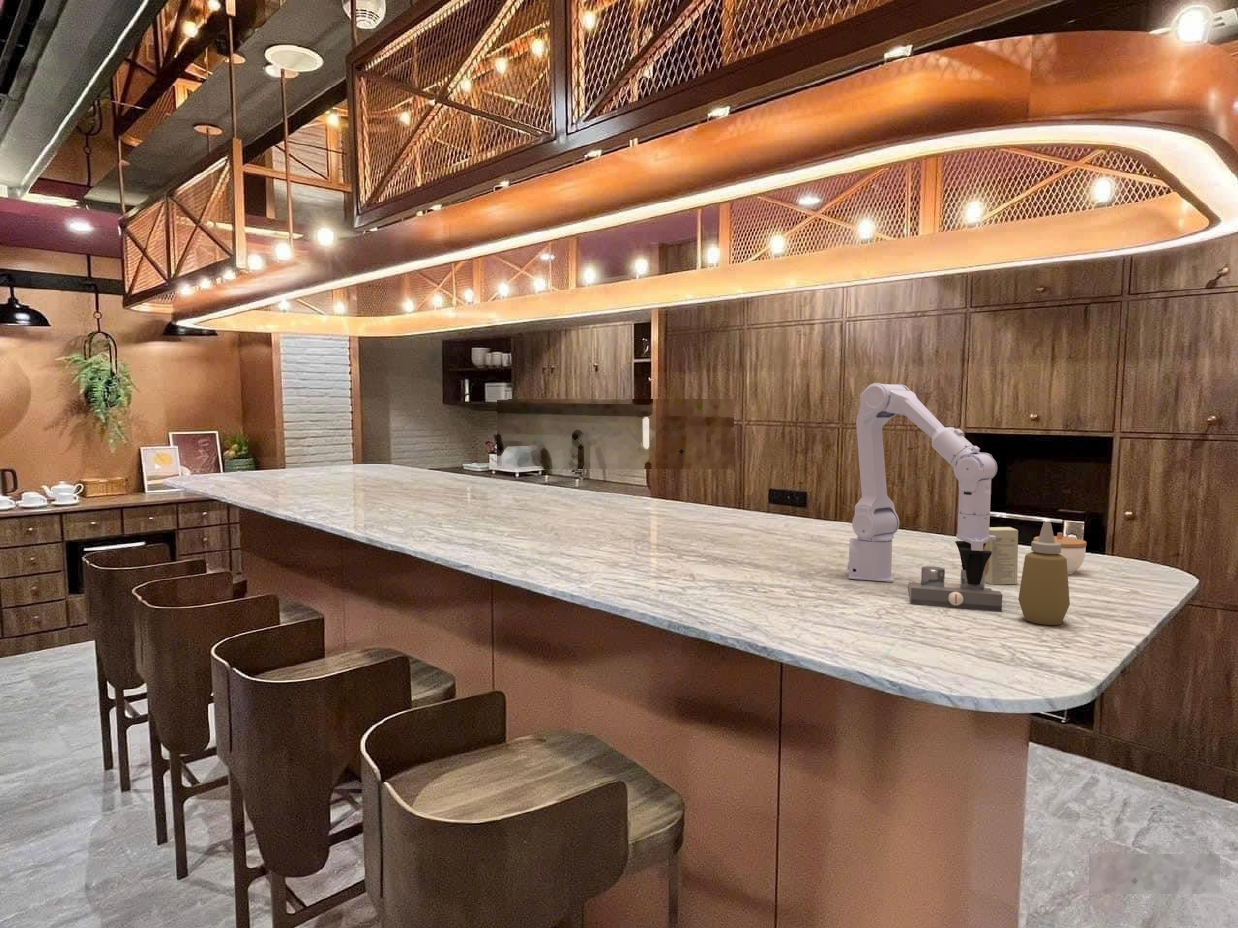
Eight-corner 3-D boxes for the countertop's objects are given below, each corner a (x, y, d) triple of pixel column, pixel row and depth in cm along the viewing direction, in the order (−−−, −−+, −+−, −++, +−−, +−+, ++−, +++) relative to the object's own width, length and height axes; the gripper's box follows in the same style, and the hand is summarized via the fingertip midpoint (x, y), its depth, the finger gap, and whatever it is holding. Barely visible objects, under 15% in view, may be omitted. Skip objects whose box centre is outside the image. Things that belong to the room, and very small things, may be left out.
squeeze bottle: (1025, 612, 136) (1029, 518, 134) (1074, 621, 130) (1079, 522, 129) (1011, 621, 130) (1015, 522, 129) (1062, 630, 124) (1066, 527, 123)
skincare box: (1009, 580, 162) (1011, 526, 161) (1017, 584, 158) (1020, 529, 157) (979, 579, 162) (981, 526, 162) (987, 584, 158) (989, 529, 157)
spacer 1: (921, 589, 147) (922, 569, 147) (920, 584, 151) (920, 565, 151) (945, 591, 145) (945, 571, 145) (943, 586, 150) (943, 567, 149)
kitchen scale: (910, 604, 141) (911, 588, 141) (908, 586, 156) (908, 572, 156) (1002, 612, 136) (1002, 595, 136) (990, 593, 150) (991, 577, 150)
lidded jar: (1022, 567, 176) (1023, 529, 175) (1062, 566, 177) (1064, 528, 176) (1053, 577, 165) (1055, 536, 164) (1096, 576, 166) (1098, 536, 165)
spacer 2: (961, 592, 144) (962, 572, 144) (958, 587, 148) (959, 568, 148) (985, 594, 143) (986, 574, 143) (982, 589, 147) (983, 569, 147)
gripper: (1001, 519, 136) (999, 589, 137) (991, 509, 150) (988, 573, 151) (960, 517, 139) (958, 586, 140) (953, 508, 152) (951, 571, 153)
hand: (971, 579), depth 146 cm, fingers open, 7 cm apart
